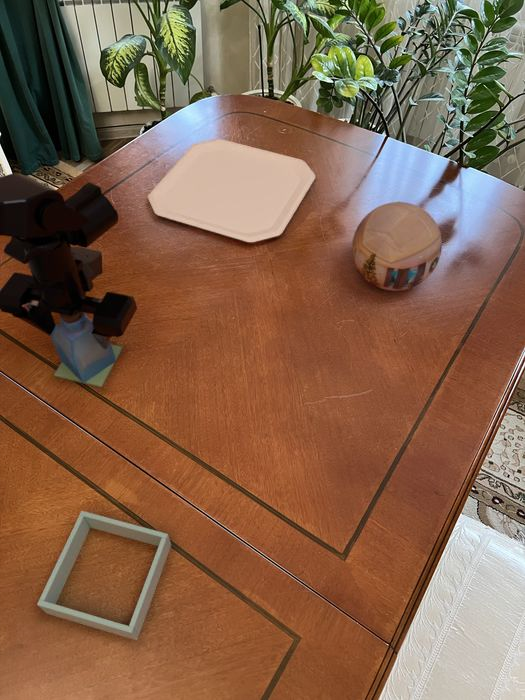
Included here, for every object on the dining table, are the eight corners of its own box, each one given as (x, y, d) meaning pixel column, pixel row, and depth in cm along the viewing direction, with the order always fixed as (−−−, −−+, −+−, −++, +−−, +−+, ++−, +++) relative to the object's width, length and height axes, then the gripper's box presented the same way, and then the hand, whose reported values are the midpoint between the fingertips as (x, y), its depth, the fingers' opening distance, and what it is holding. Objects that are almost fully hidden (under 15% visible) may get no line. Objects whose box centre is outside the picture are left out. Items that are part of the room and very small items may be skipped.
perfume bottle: (93, 339, 94) (76, 288, 84) (116, 361, 91) (101, 310, 82) (60, 360, 91) (39, 309, 81) (83, 383, 88) (63, 333, 79)
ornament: (355, 310, 99) (369, 245, 87) (340, 252, 108) (351, 185, 97) (439, 306, 100) (464, 240, 89) (417, 248, 110) (437, 181, 98)
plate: (137, 216, 114) (135, 207, 112) (202, 141, 130) (201, 132, 128) (272, 257, 107) (272, 248, 106) (322, 172, 124) (323, 163, 122)
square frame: (46, 613, 68) (36, 604, 65) (88, 522, 75) (81, 510, 72) (137, 640, 67) (131, 633, 64) (171, 544, 74) (168, 533, 71)
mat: (54, 376, 90) (53, 374, 89) (77, 338, 94) (76, 336, 94) (101, 387, 88) (101, 386, 88) (122, 348, 93) (121, 346, 93)
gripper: (143, 239, 78) (157, 315, 91) (19, 215, 81) (49, 292, 93) (109, 296, 72) (130, 369, 84) (-24, 268, 74) (14, 343, 86)
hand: (80, 340), depth 87 cm, fingers closed on perfume bottle, 8 cm apart
